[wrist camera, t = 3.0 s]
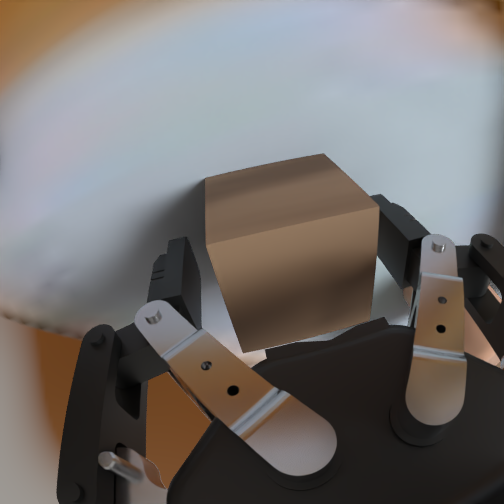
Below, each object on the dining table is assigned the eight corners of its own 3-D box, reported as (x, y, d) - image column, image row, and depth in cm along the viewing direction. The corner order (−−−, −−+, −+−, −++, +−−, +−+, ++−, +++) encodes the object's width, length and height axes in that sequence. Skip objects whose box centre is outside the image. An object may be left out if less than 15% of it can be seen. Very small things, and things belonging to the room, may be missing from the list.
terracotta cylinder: (409, 257, 16) (475, 347, 11) (468, 239, 16) (534, 312, 11) (398, 314, 19) (443, 396, 14) (452, 294, 19) (501, 364, 14)
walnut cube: (205, 177, 12) (205, 245, 8) (322, 152, 12) (379, 206, 8) (231, 271, 15) (242, 353, 11) (329, 247, 15) (369, 320, 11)
